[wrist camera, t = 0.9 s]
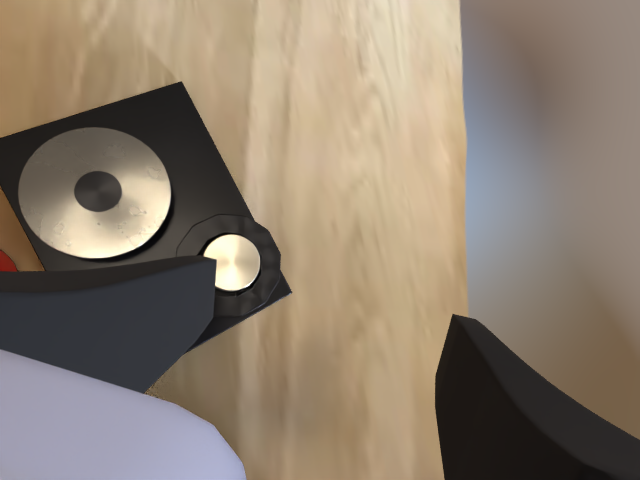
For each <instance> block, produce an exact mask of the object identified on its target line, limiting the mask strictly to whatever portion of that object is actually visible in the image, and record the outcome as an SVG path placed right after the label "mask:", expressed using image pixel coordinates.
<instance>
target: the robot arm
mask: <svg viewBox="0 0 640 480" xmlns="http://www.w3.org/2000/svg"><path fill="white" fill-rule="evenodd" d="M216 268H217V259H213V258H208V257H204V256H200V255H191V256H180V257H173V258H166V259H160V260H154V261H147V262H141V263H134V264H127V265H120V266H112V267H105V268H96V269H85V270H69V271H0V480H246V475H245V470H244V465H243V463H242V462H241V460H240V458H239V457H238V456H237V455H236V453H235V452H234V451H233V449H232V448H231V447H230V446H229V444H228V443H227V442H226V441H225V439H224V438H223V437H222V435H221V434H220V433H219V432H218V430H217V429H216V428H215V427H214V425H213V424H211V423H209V422H207V421H205V420H204V419H202V418H200V417H198V416H196V415H195V414H193V413H191V412H189V411H188V410H186V409H184V408H182V407H180V406H179V405H177V404H175V403H172V402H168V401H165V400H162V399H159V398H155V397H152V396H149V395H146V394H144V393H145V391H146V390H147V389H148V388H149V387H150V386H152V385H153V384H154V383H155V382H156V381H157V380H158V379H159V378H160V377H161V376H162V375H163V374H164V373H165V372H166V371H167V370H168V369H169V368H170V367H171V366H172V365H173V364H174V363H175V362H176V361H177V360H178V359H179V358H180V357H181V356H182V355H183V354H184V353H185V352H186V351H187V350H188V349H189V348H190V347H191V346H192V345H193V344H194V343H195V341H196V340H197V339H198V338H199V336H200V335H201V334H202V333H203V331H204V330H205V328H206V327H207V326H208V324H209V323H210V321H211V320H212V318H213V313H214V298H215V283H216ZM435 409H436V418H437V425H438V433H439V441H440V448H441V455H442V463H443V470H444V478H445V480H640V440H639V439H637V438H635V437H633V436H631V435H630V434H628V433H627V432H625V431H623V430H621V429H620V428H618V427H616V426H615V425H613V424H611V423H609V422H608V421H606V420H604V419H603V418H601V417H599V416H598V415H596V414H595V413H593V412H592V411H590V410H588V409H587V408H585V407H584V406H582V405H581V404H579V403H578V402H576V401H575V400H574V399H572V398H571V397H569V396H568V395H566V394H565V393H563V392H562V391H561V390H559V389H558V388H556V387H555V386H554V385H552V384H551V383H550V382H548V381H547V380H546V379H545V378H543V377H542V376H541V375H540V374H538V373H537V372H536V371H535V370H533V369H532V368H531V367H530V366H529V365H527V364H526V363H525V362H524V361H523V360H521V359H520V358H519V357H518V356H517V355H516V354H515V353H514V352H512V351H511V350H510V349H509V348H508V347H507V346H506V345H505V344H504V343H502V342H501V341H500V340H499V339H498V338H497V337H496V336H495V335H494V334H493V333H491V331H489V330H488V329H487V328H486V327H485V326H484V325H482V324H481V323H480V322H479V321H477V320H476V319H472V318H468V317H464V316H459V315H455V314H453V315H452V318H451V322H450V326H449V329H448V333H447V336H446V340H445V344H444V347H443V351H442V354H441V358H440V361H439V365H438V369H437V372H436V379H435Z"/></svg>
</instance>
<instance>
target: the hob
mask: <svg viewBox="0 0 640 480" xmlns="http://www.w3.org/2000/svg"><path fill="white" fill-rule="evenodd" d="M90 127H98V128H108V129H113V130H117V131H121V132H124V133H126V134H129V135H131V136H133V137H135V138H137V139H138V140H140V141H142V142H143V143H144V144H146V145H147V146H148V147H149V148H150V149H151V150H152V151H153V152H155V154H156V155H157V156H158V157H159V159H160V160H161V162H162V163H163V165H164V167H165V169H166V171H167V174H168V177H169V181H170V186H171V203H170V208H169V211H168V215H167V217H166V219H165V221H164V223H163V225H162V226H161V228H160V229H159V230H158V232H157V233H156V234H155V235H154V236H153V237H152V238H151V239H150V240H149V241H148V242H146V243H145V244H144V245H142V246H141V247H139V248H137V249H135V250H133V251H132V252H129V253H127V254H124V255H121V256H117V257H113V258H106V259H86V258H79V257H75V256H71V255H68V254H65V253H63V252H60V251H58V250H56V249H54V248H52V247H51V246H49V245H48V244H46V243H45V242H43V241H42V240H41V239H40V238H39V237H38V236H36V234H35V233H34V232H33V231H32V230H31V229H30V227H29V226H28V224H27V222H26V221H25V219H24V217H23V214H22V212H21V208H20V205H19V198H18V188H19V181H20V177H21V174H22V171H23V169H24V166H25V165H26V163H27V161H28V160H29V158H30V157H31V156H32V155H33V153H34V152H35V151H36V150H37V149H38V148H39V147H40V146H41V145H43V144H44V143H46V142H47V141H48V140H50V139H52V138H54V137H55V136H57V135H60V134H62V133H65V132H67V131H71V130H75V129H80V128H90ZM0 186H1V188H2V190H3V191H4V193H5V195H6V197H7V199H8V201H9V203H10V205H11V207H12V208H13V210H14V212H15V214H16V216H17V218H18V220H19V222H20V224H21V226H22V227H23V229H24V231H25V233H26V235H27V237H28V239H29V241H30V243H31V244H32V246H33V248H34V250H35V252H36V254H37V256H38V258H39V260H40V261H41V263H42V265H43V267H44V269H45V271H69V270H85V269H96V268H105V267H112V266H120V265H127V264H134V263H141V262H147V261H154V260H160V259H166V258H173V257H180V256H191V255H200V256H203V254H204V252H205V250H206V248H207V246H208V245H209V244H210V243H211V242H212V241H213V240H215V239H216V238H218V237H220V236H223V235H228V234H234V235H240V236H242V237H245V238H246V239H248V240H249V241H251V242H252V243H253V244H254V246H255V247H256V249H257V251H258V253H259V256H260V269H259V272H258V274H257V276H256V278H255V279H254V281H253V282H252V283H251V284H249V285H248V286H247V287H245V288H243V289H240V290H237V291H232V292H226V291H221V290H218V289H216V288H215V298H214V313H213V318H212V320H211V321H210V323H209V324H208V326H207V327H206V328H205V330H204V331H203V333H202V334H201V335H200V336H199V338H198V339H197V340H196V341H195V343H194V344H193V345H192V346H191V347H190V348H189V349H188V350H187V351H186V352H185V353H187V352H188V351H190V350H192V349H194V348H195V347H197V346H199V345H201V344H203V343H204V342H206V341H208V340H210V339H211V338H213V337H215V336H217V335H218V334H220V333H222V332H224V331H226V330H227V329H229V328H231V327H233V326H234V325H236V324H238V323H240V322H242V321H243V320H245V319H247V318H249V317H250V316H252V315H254V314H256V313H257V312H259V311H261V310H263V309H265V308H266V307H268V306H270V305H272V304H273V303H275V302H277V301H279V300H280V299H282V298H284V297H286V296H288V295H289V294H291V293H292V291H291V289H290V287H289V285H288V283H287V281H286V279H285V278H284V276H283V274H282V272H281V270H280V260H281V254H280V251H279V250H278V248H277V246H276V244H275V242H274V240H273V238H272V236H271V234H270V232H269V231H268V230H267V229H266V228H264V227H263V226H261V225H260V224H258V223H257V222H255V220H254V218H253V216H252V215H251V213H250V211H249V209H248V207H247V205H246V203H245V201H244V199H243V197H242V195H241V194H240V192H239V190H238V188H237V186H236V184H235V182H234V180H233V178H232V176H231V174H230V173H229V171H228V169H227V167H226V165H225V163H224V161H223V159H222V157H221V155H220V153H219V152H218V150H217V148H216V146H215V144H214V142H213V140H212V138H211V136H210V134H209V132H208V131H207V129H206V127H205V125H204V123H203V121H202V119H201V117H200V115H199V113H198V111H197V109H196V108H195V106H194V104H193V102H192V100H191V98H190V96H189V94H188V92H187V90H186V88H185V87H184V85H183V83H182V82H178V83H175V84H171V85H168V86H165V87H162V88H159V89H155V90H152V91H149V92H146V93H143V94H140V95H136V96H133V97H130V98H127V99H124V100H120V101H117V102H114V103H111V104H108V105H104V106H101V107H98V108H95V109H92V110H88V111H85V112H82V113H79V114H76V115H73V116H69V117H66V118H63V119H60V120H57V121H53V122H50V123H47V124H44V125H41V126H37V127H34V128H31V129H28V130H25V131H21V132H18V133H15V134H12V135H9V136H6V137H2V138H0ZM185 353H184V354H185Z"/></svg>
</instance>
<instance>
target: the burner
mask: <svg viewBox="0 0 640 480" xmlns="http://www.w3.org/2000/svg"><path fill="white" fill-rule="evenodd" d="M18 198H19V205H20V208H21V212H22V214H23V217H24V219H25V221H26V222H27V224H28V226H29V227H30V229H31V230H32V231H33V232H34V233H35V234H36V236H38V237H39V238H40V239H41V240H42V241H43V242H45V243H46V244H48V245H49V246H51V247H52V248H54V249H56V250H58V251H60V252H63V253H65V254H68V255H71V256H75V257H79V258H86V259H106V258H113V257H117V256H121V255H124V254H127V253H129V252H132V251H133V250H135V249H137V248H139V247H141V246H142V245H144V244H145V243H146V242H148V241H149V240H150V239H151V238H152V237H153V236H154V235H155V234H156V233H157V232H158V230H159V229H160V228H161V226H162V225H163V223H164V221H165V219H166V217H167V215H168V211H169V208H170V203H171V186H170V181H169V177H168V174H167V171H166V169H165V167H164V165H163V163H162V162H161V160H160V159H159V157H158V156H157V155H156V154H155V152H153V151H152V150H151V149H150V148H149V147H148V146H147V145H146V144H144V143H143V142H142V141H140V140H138V139H137V138H135V137H133V136H131V135H129V134H126V133H124V132H121V131H117V130H113V129H108V128H98V127H90V128H80V129H75V130H71V131H67V132H65V133H62V134H60V135H57V136H55V137H54V138H52V139H50V140H48V141H47V142H46V143H44V144H43V145H41V146H40V147H39V148H38V149H37V150H36V151H35V152H34V153H33V155H32V156H31V157H30V158H29V160H28V161H27V163H26V165H25V166H24V169H23V171H22V174H21V177H20V181H19V188H18Z"/></svg>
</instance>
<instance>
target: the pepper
mask: <svg viewBox="0 0 640 480" xmlns="http://www.w3.org/2000/svg"><path fill="white" fill-rule="evenodd" d="M0 271H17V269H16V267H15V265H14V263H13V262H12V260H11V259H10V258H9V257H8V256H7V255H6V254H5V253H4V252H3V251H1V250H0Z"/></svg>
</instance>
